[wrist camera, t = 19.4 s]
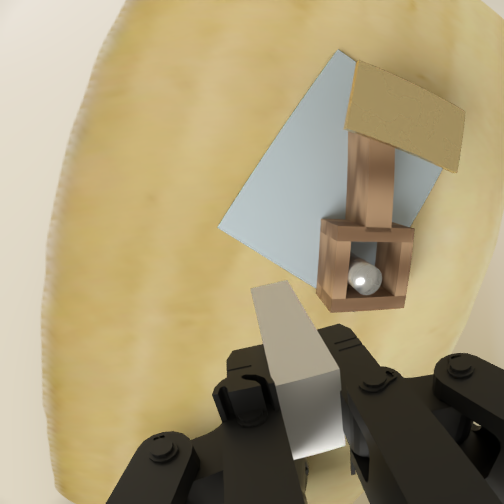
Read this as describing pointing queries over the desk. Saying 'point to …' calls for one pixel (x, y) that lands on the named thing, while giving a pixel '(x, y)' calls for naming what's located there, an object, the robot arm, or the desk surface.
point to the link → (365, 233)
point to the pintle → (363, 275)
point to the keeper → (404, 116)
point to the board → (315, 181)
